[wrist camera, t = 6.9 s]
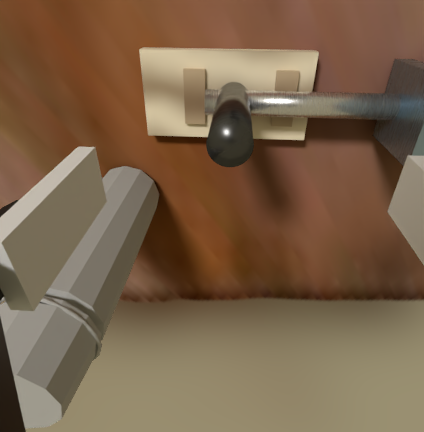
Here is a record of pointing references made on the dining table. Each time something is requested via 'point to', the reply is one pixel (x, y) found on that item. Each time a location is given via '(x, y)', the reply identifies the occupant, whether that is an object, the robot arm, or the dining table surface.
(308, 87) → the panel
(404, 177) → the robot arm
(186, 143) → the dining table surface
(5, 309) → the water bottle
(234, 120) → the metal lever handle
